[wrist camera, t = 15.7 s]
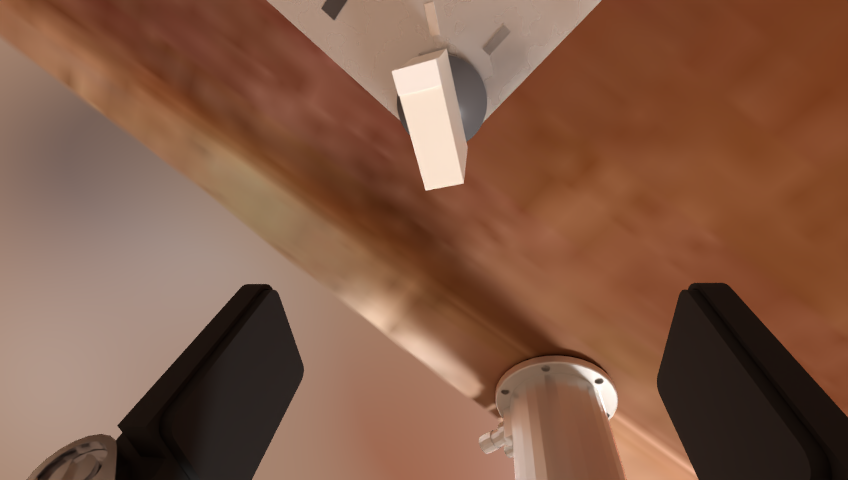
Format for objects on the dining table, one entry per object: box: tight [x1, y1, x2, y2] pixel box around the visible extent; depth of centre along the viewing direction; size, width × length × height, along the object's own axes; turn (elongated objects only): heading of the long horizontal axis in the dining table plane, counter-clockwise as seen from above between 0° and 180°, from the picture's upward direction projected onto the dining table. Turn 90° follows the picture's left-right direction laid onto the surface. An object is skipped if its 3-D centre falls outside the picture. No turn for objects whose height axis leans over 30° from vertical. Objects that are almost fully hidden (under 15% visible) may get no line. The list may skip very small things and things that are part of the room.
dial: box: [392, 48, 487, 190], centre depth 24 cm, size 6×6×7 cm
